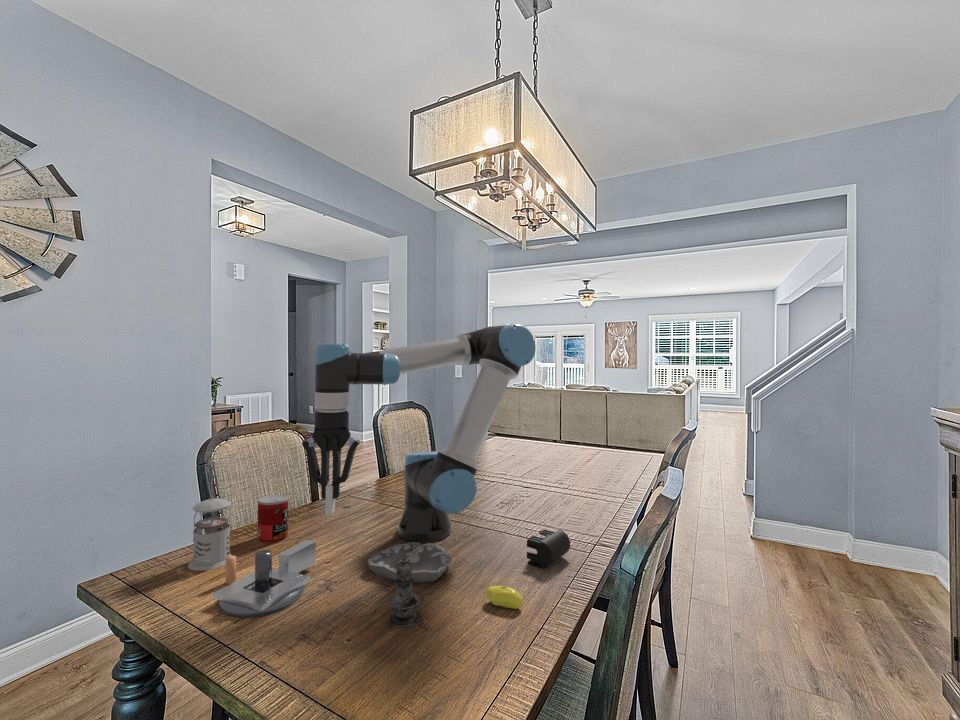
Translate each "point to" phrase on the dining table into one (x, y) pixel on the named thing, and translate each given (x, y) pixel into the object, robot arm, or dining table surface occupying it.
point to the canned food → (272, 518)
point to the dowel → (230, 569)
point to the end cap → (547, 548)
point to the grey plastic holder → (273, 579)
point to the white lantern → (210, 534)
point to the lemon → (504, 597)
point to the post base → (268, 610)
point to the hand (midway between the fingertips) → (330, 512)
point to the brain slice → (411, 561)
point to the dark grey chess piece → (404, 597)
